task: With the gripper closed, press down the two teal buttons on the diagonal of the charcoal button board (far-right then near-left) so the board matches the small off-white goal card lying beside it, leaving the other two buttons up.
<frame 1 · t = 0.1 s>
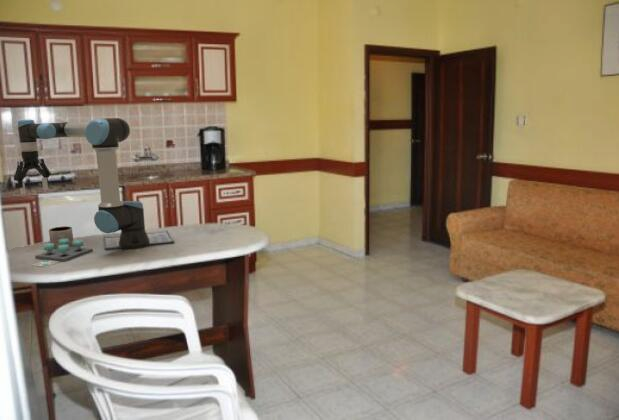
hand: (34, 192, 267), 28 cm above the table, fingers open, 13 cm apart
button 3: (64, 243, 256), point 4 cm above the table, slide at 0.0 cm
planter: (62, 247, 267), on the table
board: (64, 255, 252), on the table
button 2: (63, 249, 245), point 4 cm above the table, slide at 0.0 cm
goal card: (45, 264, 238), on the table
button 4: (49, 248, 248), point 4 cm above the table, slide at 0.0 cm
button 1: (78, 244, 253), point 4 cm above the table, slide at 0.0 cm
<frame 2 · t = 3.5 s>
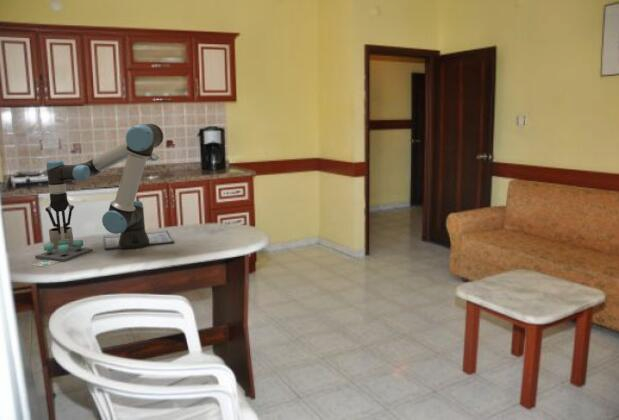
hand: (63, 239, 256), 6 cm above the table, fingers closed
button 3: (64, 244, 257), point 4 cm above the table, slide at 0.4 cm, touching gripper
everything else where it was.
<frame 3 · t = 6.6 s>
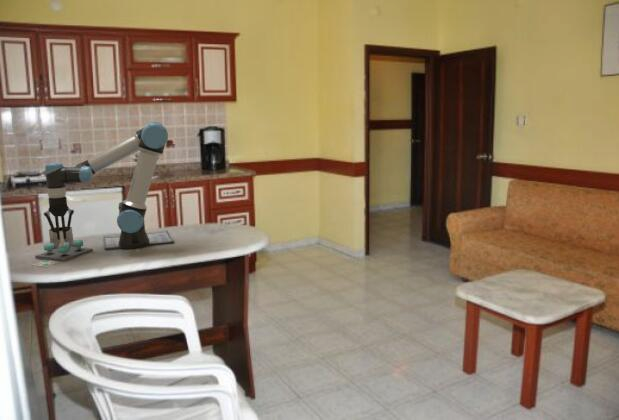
hand: (62, 245, 245), 6 cm above the table, fingers closed
button 3: (64, 247, 257), point 2 cm above the table, slide at 1.9 cm
button 2: (63, 250, 245), point 4 cm above the table, slide at 0.3 cm, touching gripper
everything else where it was.
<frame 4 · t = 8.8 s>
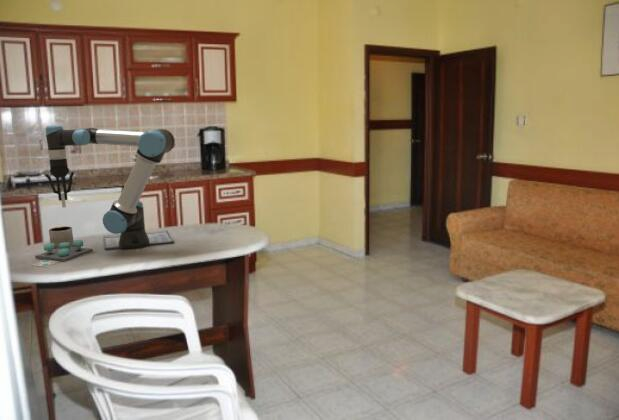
hand: (64, 206, 252), 23 cm above the table, fingers closed
button 2: (64, 253, 245), point 2 cm above the table, slide at 1.9 cm
everything else where it was.
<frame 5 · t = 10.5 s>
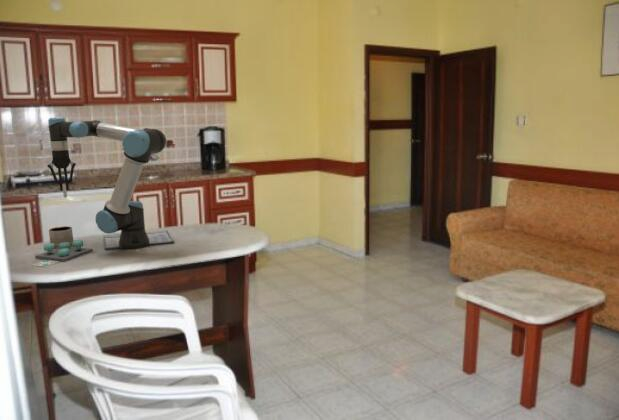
hand: (65, 197, 259), 26 cm above the table, fingers closed
nothing on the table moved.
at the end: button 3 slide at 1.9 cm; button 2 slide at 1.9 cm; button 1 slide at 0.0 cm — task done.
